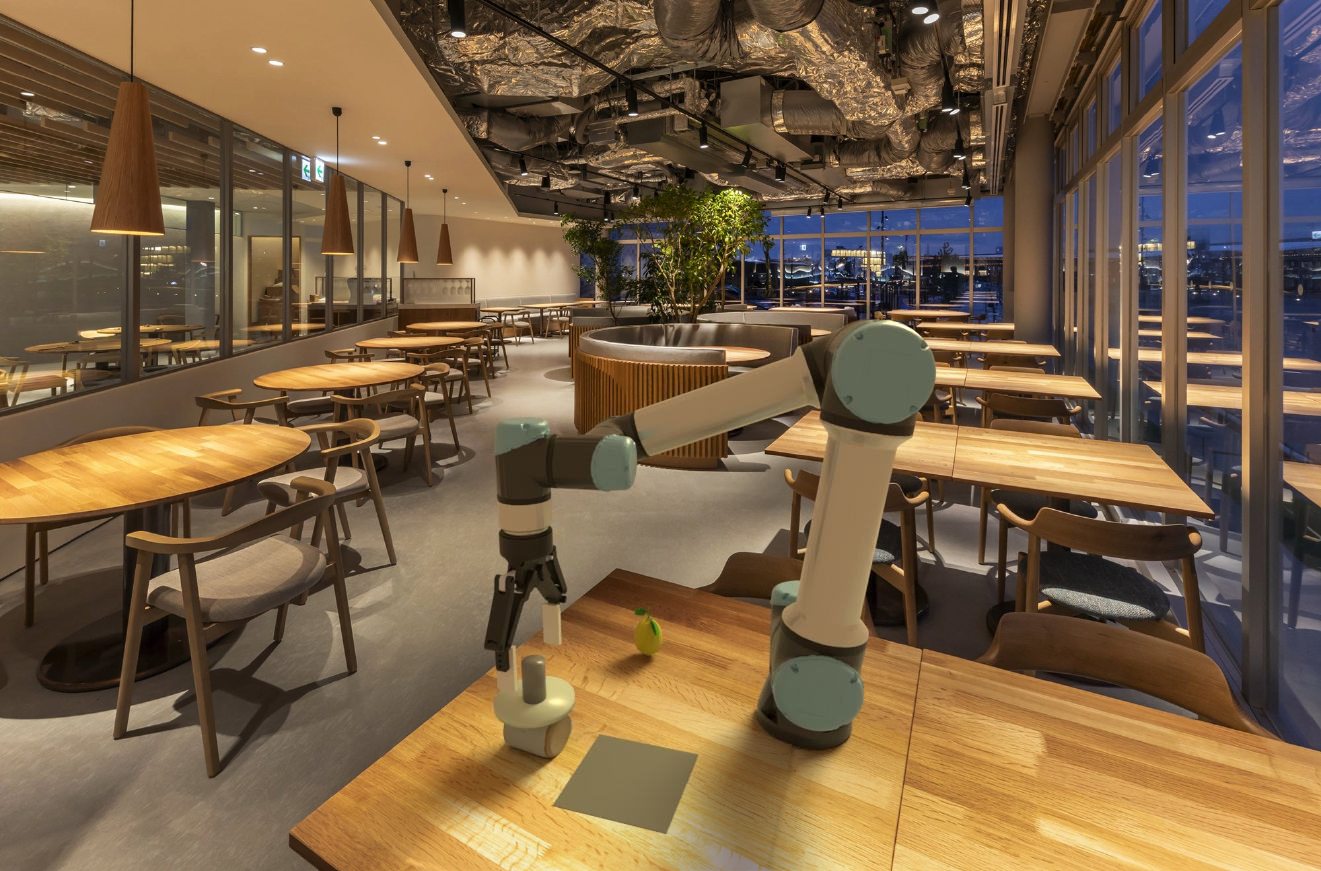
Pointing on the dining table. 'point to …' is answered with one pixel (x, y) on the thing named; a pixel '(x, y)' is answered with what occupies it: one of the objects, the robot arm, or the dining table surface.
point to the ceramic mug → (540, 737)
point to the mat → (629, 783)
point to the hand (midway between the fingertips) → (531, 664)
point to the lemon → (647, 634)
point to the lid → (534, 697)
